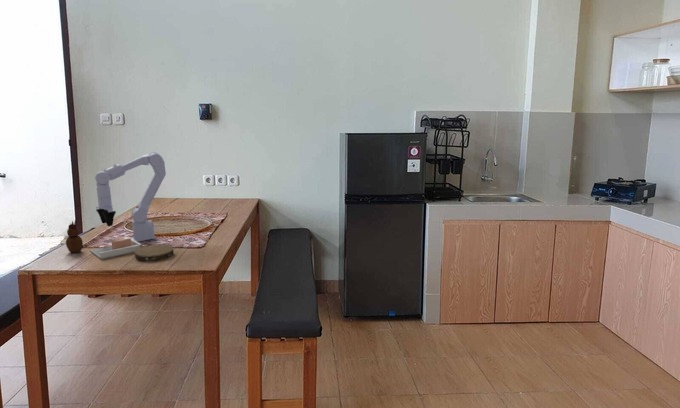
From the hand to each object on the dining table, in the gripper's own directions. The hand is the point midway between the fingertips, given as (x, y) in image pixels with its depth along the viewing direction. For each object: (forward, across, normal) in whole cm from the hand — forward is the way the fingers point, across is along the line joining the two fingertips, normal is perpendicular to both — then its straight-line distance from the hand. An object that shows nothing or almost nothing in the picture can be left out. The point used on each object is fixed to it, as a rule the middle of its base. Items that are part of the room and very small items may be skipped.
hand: (107, 224), depth 231 cm
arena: (+9, +16, -2) cm, 19 cm away
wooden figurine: (+10, +4, -16) cm, 19 cm away
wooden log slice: (+10, +35, +8) cm, 37 cm away
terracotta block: (+9, +18, 0) cm, 20 cm away
